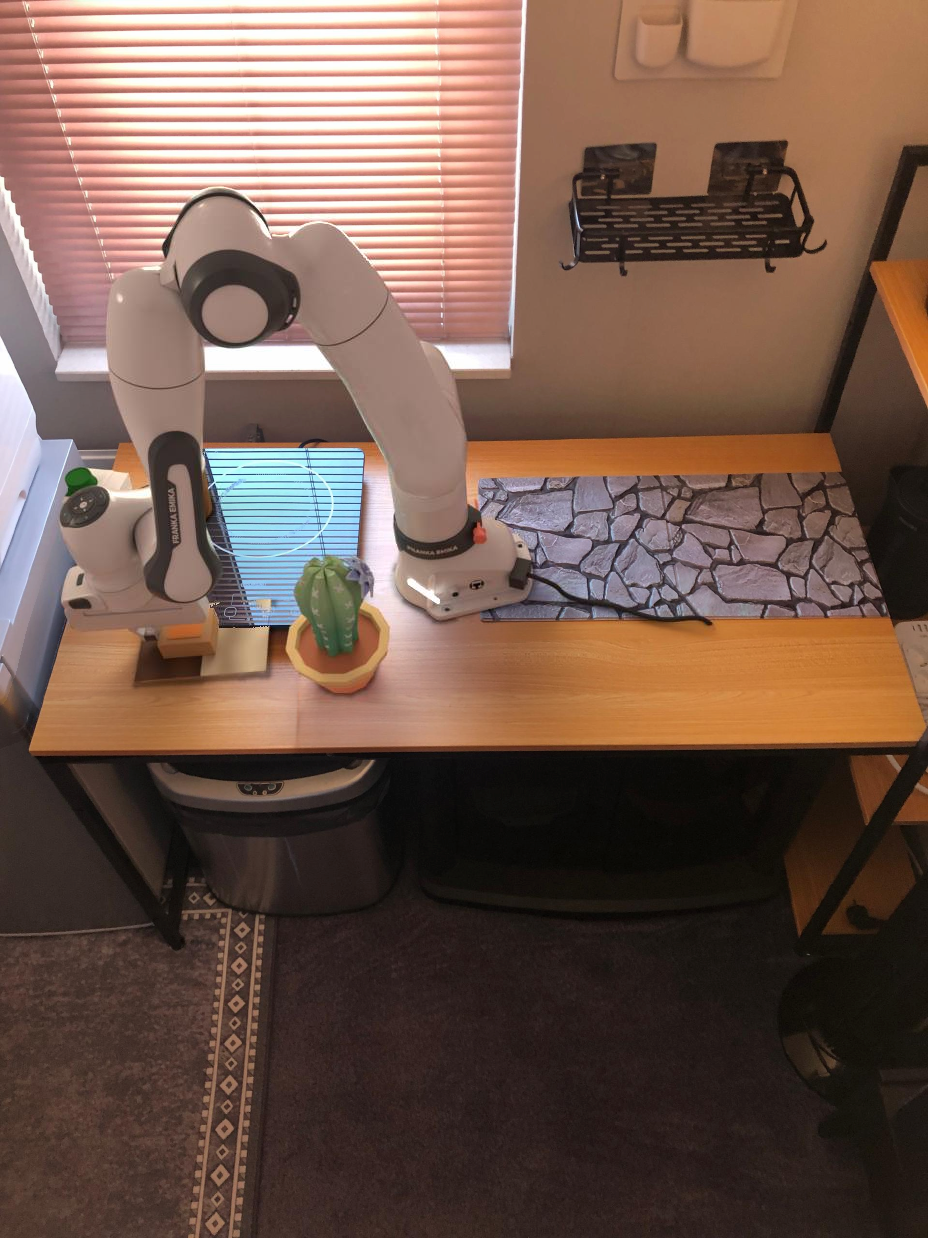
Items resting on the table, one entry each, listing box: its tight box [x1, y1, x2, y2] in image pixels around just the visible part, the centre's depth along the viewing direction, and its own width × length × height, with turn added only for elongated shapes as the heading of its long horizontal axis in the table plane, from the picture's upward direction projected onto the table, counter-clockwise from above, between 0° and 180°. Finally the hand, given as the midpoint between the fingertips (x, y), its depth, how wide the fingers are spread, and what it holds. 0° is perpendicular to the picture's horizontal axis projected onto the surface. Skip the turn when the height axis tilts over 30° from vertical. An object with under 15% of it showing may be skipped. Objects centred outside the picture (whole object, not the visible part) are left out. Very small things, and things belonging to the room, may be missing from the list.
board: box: [134, 597, 272, 682], centre depth 148 cm, size 20×14×1 cm
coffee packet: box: [157, 608, 219, 659], centre depth 146 cm, size 8×6×4 cm
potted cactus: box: [285, 554, 391, 694], centre depth 134 cm, size 15×15×25 cm
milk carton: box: [61, 466, 133, 505], centre depth 151 cm, size 9×9×20 cm
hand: (153, 637), depth 147 cm, fingers closed
